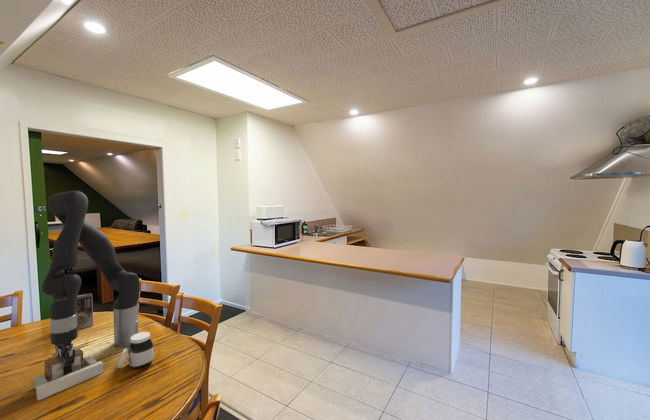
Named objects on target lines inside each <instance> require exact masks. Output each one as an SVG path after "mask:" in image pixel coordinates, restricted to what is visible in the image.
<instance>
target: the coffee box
mask: <svg viewBox="0 0 650 420" xmlns="http://www.w3.org/2000/svg"><path fill="white" fill-rule="evenodd" d="M93 307H94V306H93V293H92V292H91V293H84V294H78V295H77V300H76V316H77V327H78V330H80V329H85V328H89V327H93V326H94V311H93V310H94V309H93Z"/></svg>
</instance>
